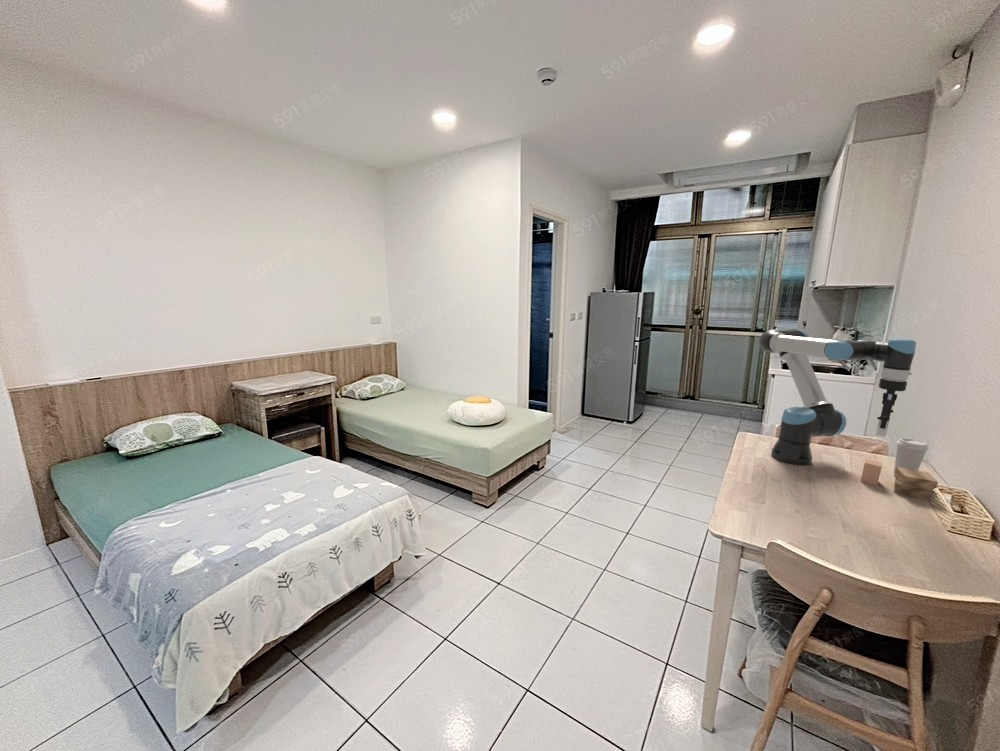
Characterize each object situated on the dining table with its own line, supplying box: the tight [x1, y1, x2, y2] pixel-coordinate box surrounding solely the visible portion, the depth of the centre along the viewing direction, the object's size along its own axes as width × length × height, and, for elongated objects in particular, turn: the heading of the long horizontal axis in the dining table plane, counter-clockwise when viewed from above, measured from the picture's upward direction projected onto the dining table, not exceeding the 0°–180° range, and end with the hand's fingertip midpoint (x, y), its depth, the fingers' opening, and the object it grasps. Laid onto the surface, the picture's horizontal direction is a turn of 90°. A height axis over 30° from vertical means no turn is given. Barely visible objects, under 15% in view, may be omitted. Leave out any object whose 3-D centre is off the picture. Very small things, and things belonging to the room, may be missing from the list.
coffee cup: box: [893, 437, 929, 474], centre depth 167 cm, size 10×10×15 cm
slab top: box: [893, 467, 939, 492], centre depth 152 cm, size 9×9×4 cm
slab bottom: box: [893, 478, 933, 502], centre depth 154 cm, size 10×10×4 cm
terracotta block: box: [860, 458, 883, 486], centre depth 161 cm, size 5×5×8 cm
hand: (881, 431), depth 157 cm, fingers open, 13 cm apart
